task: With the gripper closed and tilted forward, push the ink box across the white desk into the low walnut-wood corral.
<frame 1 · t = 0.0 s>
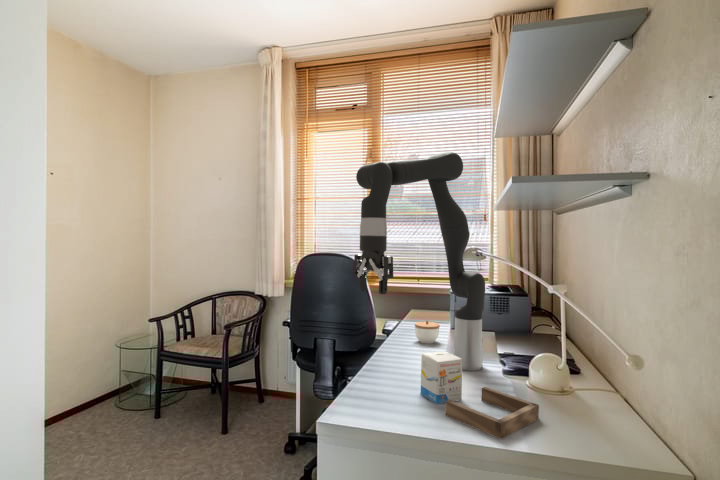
hand: (372, 292, 113), 29 cm above the table, tool pointing down, fingers open, 8 cm apart
lidded jar: (426, 342, 176), on the table
walnut corral: (489, 415, 102), on the table
ink box: (440, 397, 114), on the table
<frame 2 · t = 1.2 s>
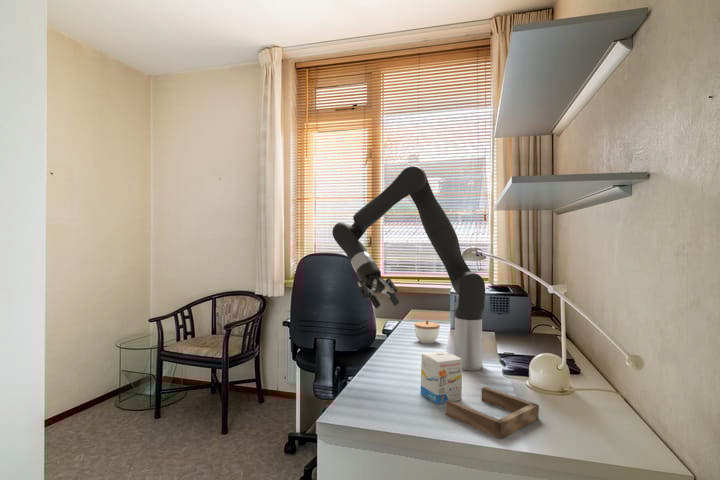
hand: (388, 305, 131), 23 cm above the table, tool tilted 45°, fingers open, 8 cm apart
nothing on the table moved.
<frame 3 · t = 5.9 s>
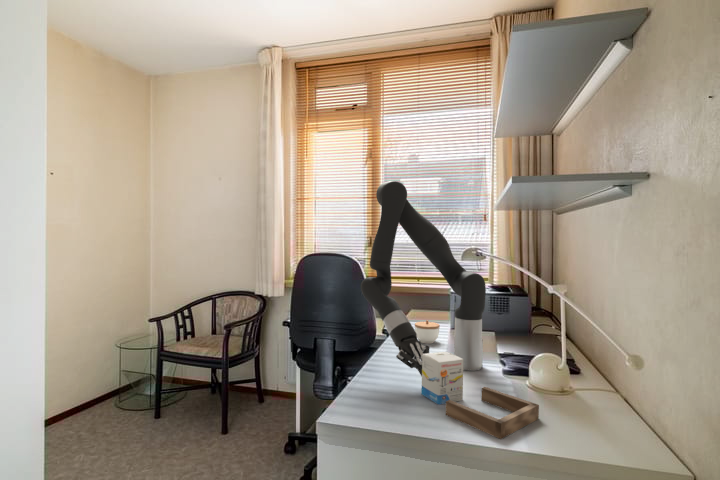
hand: (428, 377, 117), 4 cm above the table, tool tilted 45°, fingers closed
nothing on the table moved.
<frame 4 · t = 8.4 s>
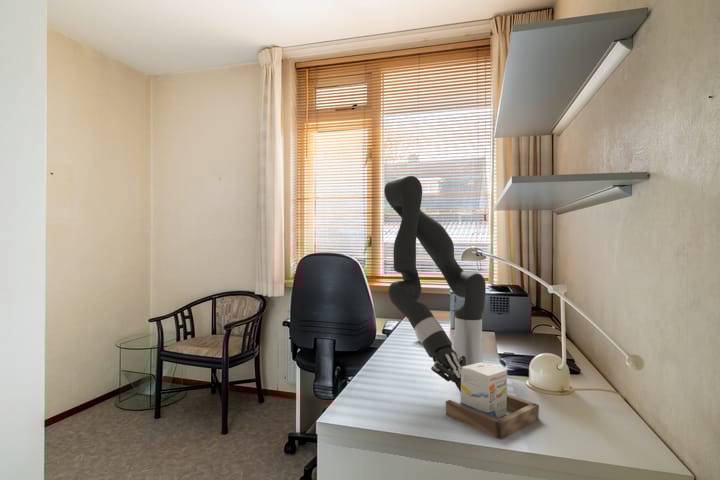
hand: (466, 392, 107), 4 cm above the table, tool tilted 45°, fingers closed
ink box: (483, 414, 103), on the table, touching gripper
everything else where it was.
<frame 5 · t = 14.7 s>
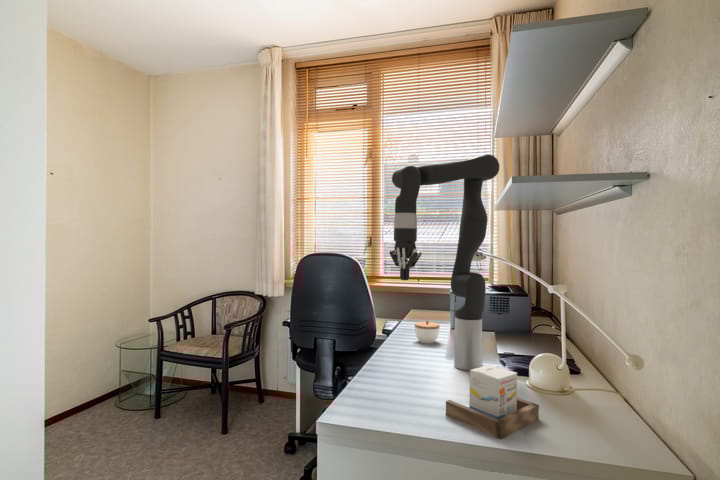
hand: (404, 279, 132), 31 cm above the table, tool pointing down, fingers closed
ink box: (492, 417, 101), on the table
everything else where it was.
at the end: ink box inside the target area on the walnut corral (0.7 cm from its centre), point 0.0 cm above the walnut corral's base; ink box tilted 0°; ink box moved 16.4 cm from its start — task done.
